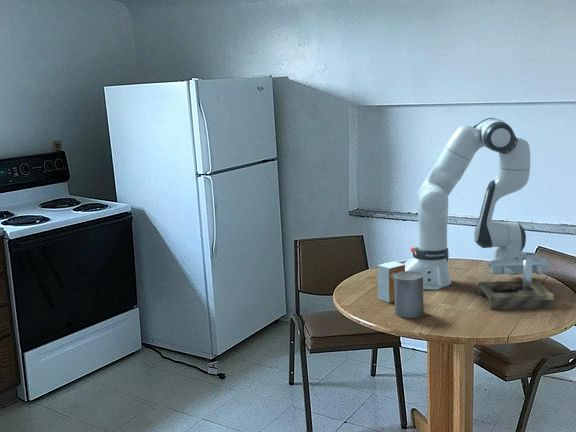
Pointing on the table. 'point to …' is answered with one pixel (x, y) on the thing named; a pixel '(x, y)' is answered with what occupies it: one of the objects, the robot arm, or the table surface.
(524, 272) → the footed peg
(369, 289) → the table surface
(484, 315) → the table surface
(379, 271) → the small box
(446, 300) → the table surface
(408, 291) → the pillar candle
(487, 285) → the keyhole plate
